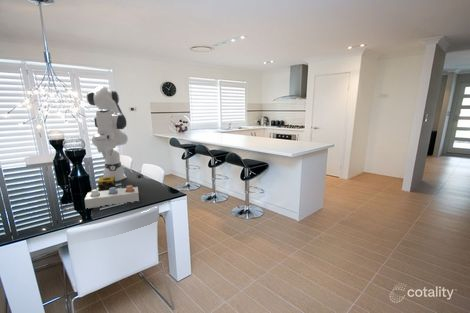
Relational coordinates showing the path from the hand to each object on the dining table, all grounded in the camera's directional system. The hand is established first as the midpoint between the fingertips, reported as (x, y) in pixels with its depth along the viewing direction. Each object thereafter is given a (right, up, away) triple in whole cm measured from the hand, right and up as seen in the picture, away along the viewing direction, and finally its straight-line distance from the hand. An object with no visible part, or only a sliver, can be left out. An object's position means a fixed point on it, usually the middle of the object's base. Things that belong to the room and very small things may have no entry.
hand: (108, 157), depth 149 cm
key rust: (+11, -24, +6) cm, 28 cm away
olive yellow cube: (-11, -26, +19) cm, 33 cm away
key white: (-7, -26, -2) cm, 27 cm away
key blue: (+2, -25, +2) cm, 25 cm away
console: (+2, -29, +3) cm, 29 cm away
